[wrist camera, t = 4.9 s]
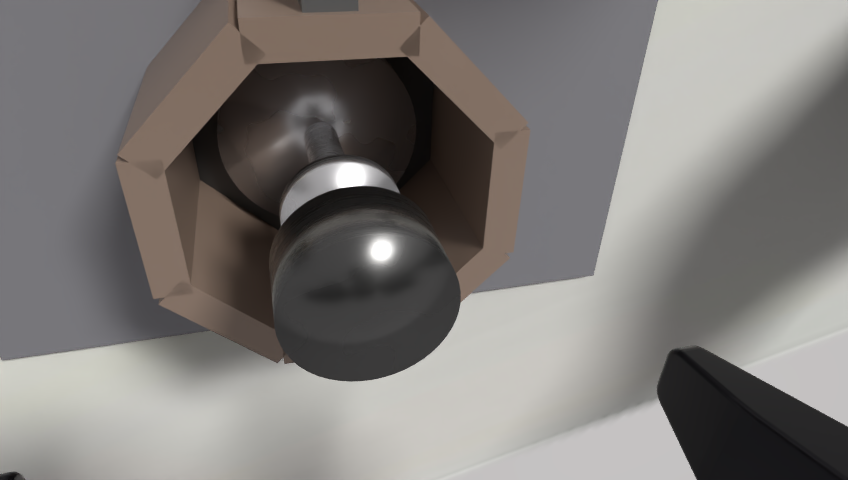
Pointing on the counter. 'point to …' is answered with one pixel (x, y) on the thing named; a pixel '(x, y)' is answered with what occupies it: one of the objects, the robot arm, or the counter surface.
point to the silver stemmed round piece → (340, 215)
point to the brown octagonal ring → (256, 227)
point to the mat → (115, 97)
